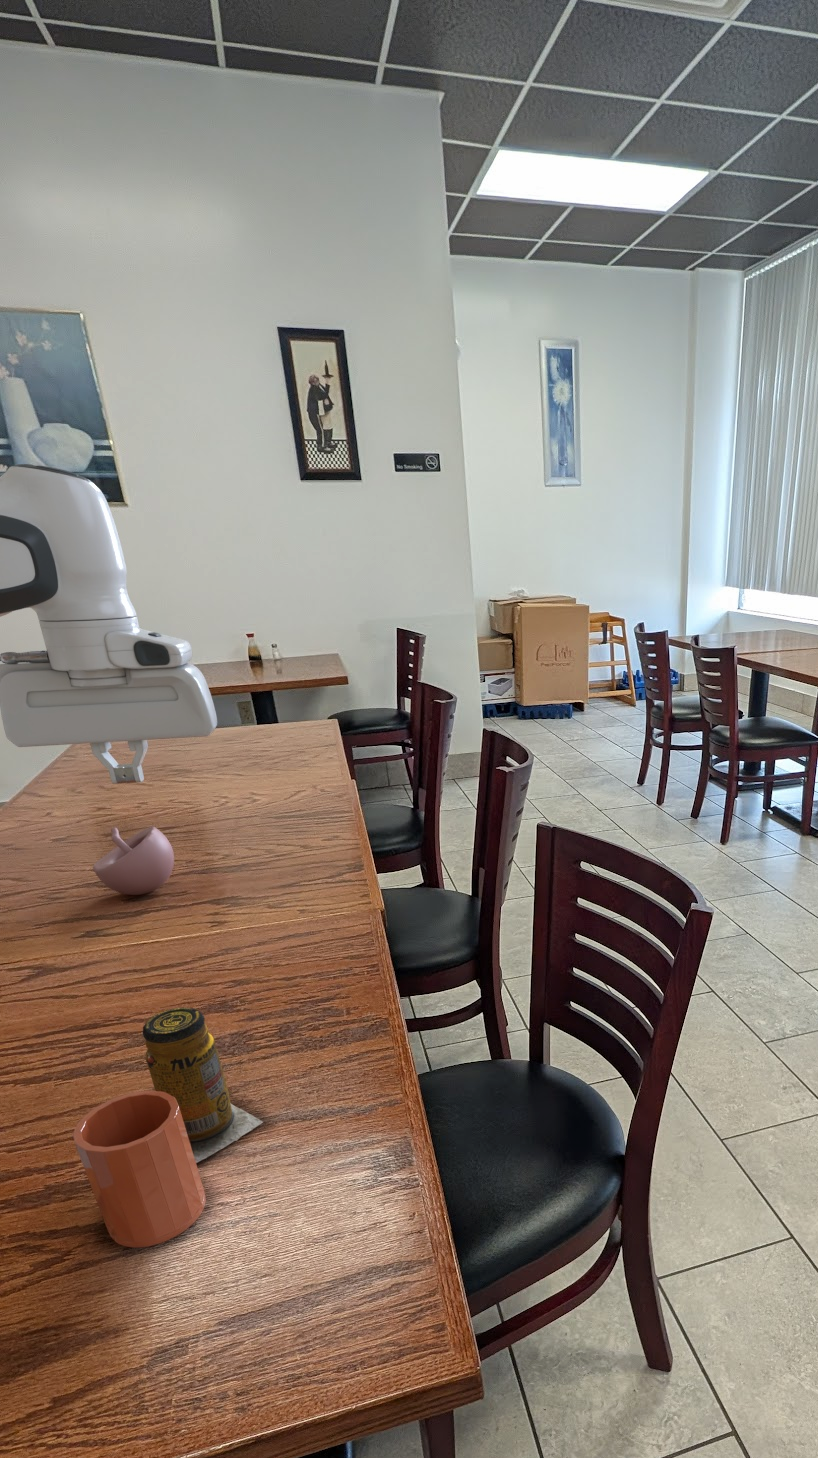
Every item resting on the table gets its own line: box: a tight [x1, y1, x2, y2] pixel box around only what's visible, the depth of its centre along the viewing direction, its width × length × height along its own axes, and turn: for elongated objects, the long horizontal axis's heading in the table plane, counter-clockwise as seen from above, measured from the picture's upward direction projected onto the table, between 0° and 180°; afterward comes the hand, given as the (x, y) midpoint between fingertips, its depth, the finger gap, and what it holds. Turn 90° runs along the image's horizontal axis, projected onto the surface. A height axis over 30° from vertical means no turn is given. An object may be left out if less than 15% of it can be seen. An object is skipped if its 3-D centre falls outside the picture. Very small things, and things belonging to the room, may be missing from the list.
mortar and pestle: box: [92, 825, 175, 896], centre depth 134 cm, size 12×12×11 cm
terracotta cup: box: [72, 1089, 207, 1249], centre depth 68 cm, size 8×8×10 cm
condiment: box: [142, 1006, 264, 1164], centre depth 77 cm, size 7×8×12 cm
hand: (128, 782), depth 90 cm, fingers closed
